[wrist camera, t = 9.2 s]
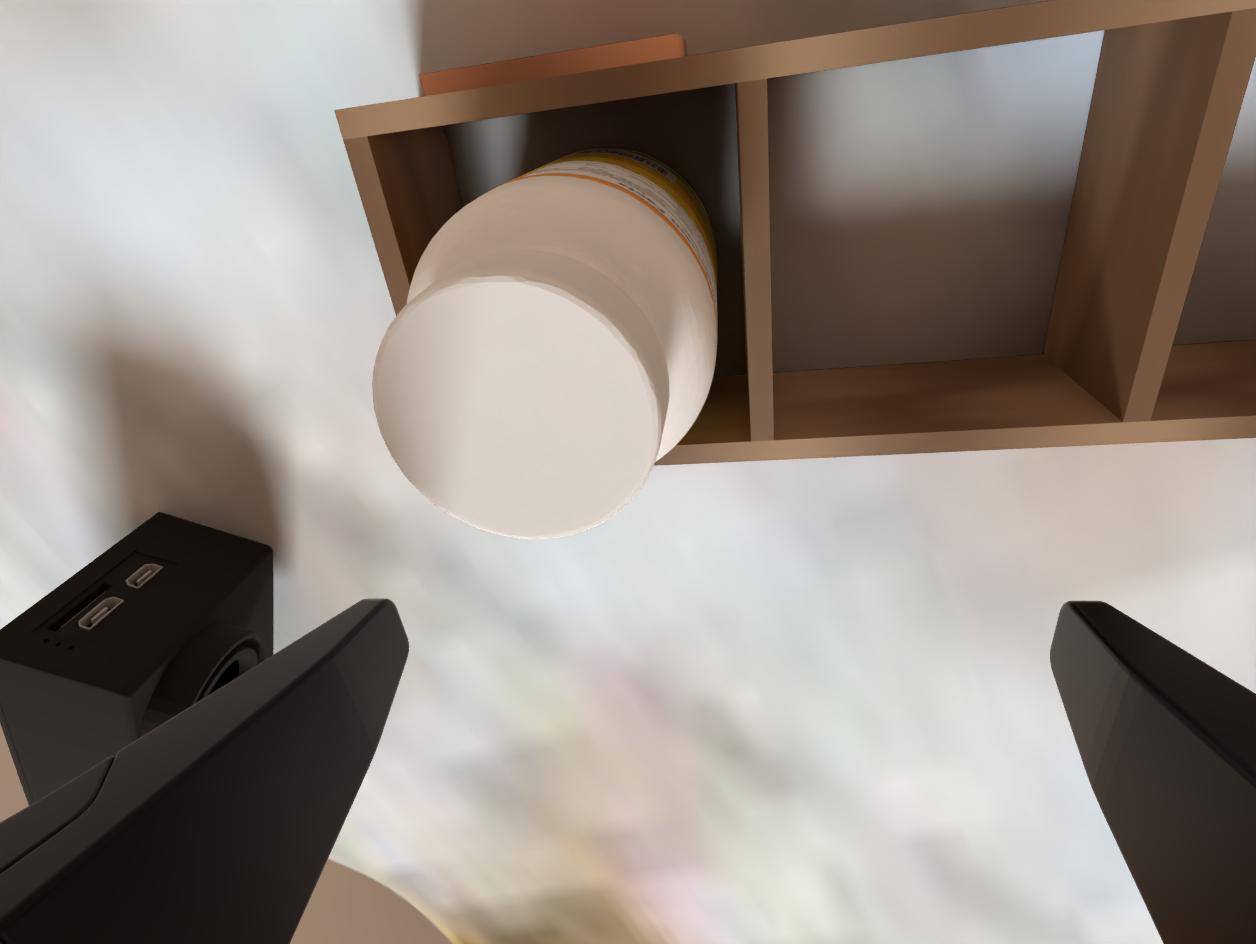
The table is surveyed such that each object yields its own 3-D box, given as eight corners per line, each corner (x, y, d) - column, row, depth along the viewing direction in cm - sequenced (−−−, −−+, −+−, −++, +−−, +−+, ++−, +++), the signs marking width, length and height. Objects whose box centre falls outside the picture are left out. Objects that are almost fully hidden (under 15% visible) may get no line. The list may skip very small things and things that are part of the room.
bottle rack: (1615, -103, 12) (1981, -179, 8) (1404, 349, 16) (1590, 421, 12) (414, 85, 16) (326, 85, 12) (493, 407, 20) (444, 475, 16)
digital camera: (300, 730, 29) (190, 895, 23) (181, 694, 29) (39, 851, 23) (306, 555, 24) (166, 711, 18) (160, 510, 24) (-31, 652, 18)
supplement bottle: (580, 389, 19) (473, 623, 11) (471, 216, 17) (233, 341, 9) (752, 303, 17) (784, 505, 9) (655, 97, 15) (576, 110, 7)
